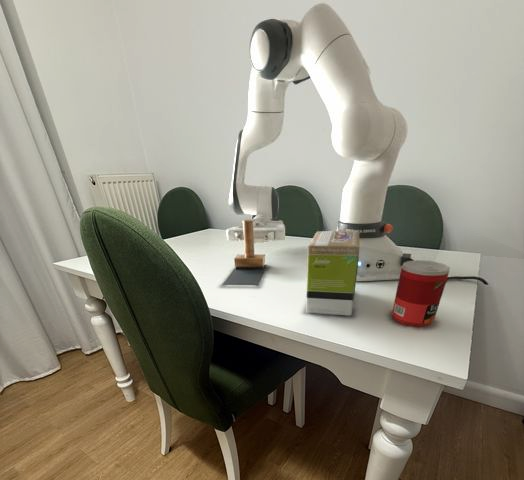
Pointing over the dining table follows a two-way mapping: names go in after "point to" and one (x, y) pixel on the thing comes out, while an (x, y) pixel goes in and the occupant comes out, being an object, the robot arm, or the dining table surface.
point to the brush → (249, 251)
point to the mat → (244, 277)
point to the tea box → (332, 272)
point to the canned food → (419, 292)
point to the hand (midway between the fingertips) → (252, 238)
